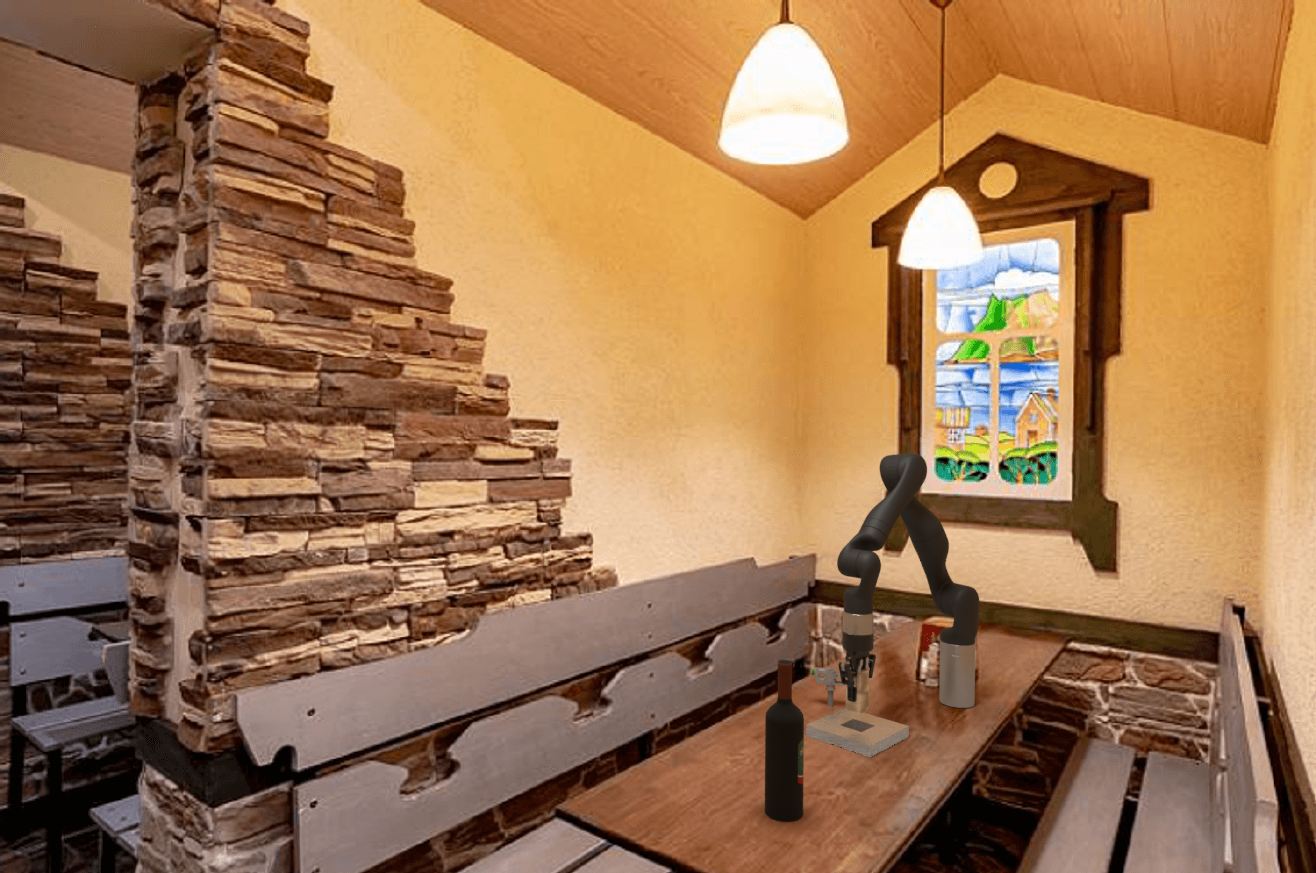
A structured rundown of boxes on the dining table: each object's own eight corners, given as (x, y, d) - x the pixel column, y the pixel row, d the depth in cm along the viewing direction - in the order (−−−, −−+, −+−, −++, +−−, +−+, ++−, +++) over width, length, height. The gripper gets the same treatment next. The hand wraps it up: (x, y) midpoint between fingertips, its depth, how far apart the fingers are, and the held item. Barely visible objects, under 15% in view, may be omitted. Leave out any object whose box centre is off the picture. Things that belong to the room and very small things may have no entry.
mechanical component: (849, 709, 216) (849, 672, 215) (811, 706, 218) (811, 670, 217) (849, 705, 218) (849, 669, 218) (811, 702, 220) (811, 666, 220)
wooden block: (854, 705, 199) (854, 666, 199) (868, 709, 196) (868, 669, 196) (845, 709, 196) (846, 669, 196) (859, 713, 193) (860, 673, 193)
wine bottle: (760, 804, 160) (762, 656, 160) (797, 802, 161) (798, 655, 161) (769, 822, 153) (770, 667, 152) (807, 821, 153) (809, 667, 153)
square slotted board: (845, 717, 209) (845, 707, 209) (908, 737, 196) (908, 725, 196) (805, 735, 196) (805, 724, 196) (870, 757, 183) (870, 745, 183)
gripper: (860, 622, 204) (859, 689, 204) (828, 631, 194) (827, 701, 194) (886, 628, 198) (885, 696, 198) (855, 637, 188) (854, 709, 188)
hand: (856, 698), depth 196 cm, fingers closed on wooden block, 4 cm apart
